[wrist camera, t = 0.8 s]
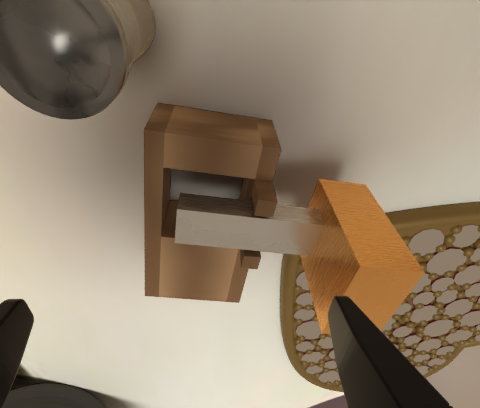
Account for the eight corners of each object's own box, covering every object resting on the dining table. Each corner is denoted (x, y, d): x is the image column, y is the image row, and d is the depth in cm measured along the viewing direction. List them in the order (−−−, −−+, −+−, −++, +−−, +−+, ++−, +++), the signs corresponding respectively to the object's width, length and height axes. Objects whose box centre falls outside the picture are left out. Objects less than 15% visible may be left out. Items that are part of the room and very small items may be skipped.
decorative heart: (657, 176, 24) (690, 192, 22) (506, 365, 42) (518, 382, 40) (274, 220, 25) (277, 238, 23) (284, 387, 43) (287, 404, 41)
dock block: (271, 120, 20) (287, 168, 15) (237, 263, 27) (240, 326, 22) (157, 102, 19) (134, 147, 14) (154, 256, 26) (138, 320, 21)
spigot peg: (164, -23, 15) (120, -22, 9) (162, 71, 18) (126, 127, 11) (68, -44, 14) (-57, -58, 8) (79, 58, 17) (-8, 108, 11)
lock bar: (365, 185, 19) (425, 272, 13) (336, 244, 22) (376, 336, 16) (184, 160, 18) (165, 248, 12) (179, 227, 20) (162, 324, 15)
